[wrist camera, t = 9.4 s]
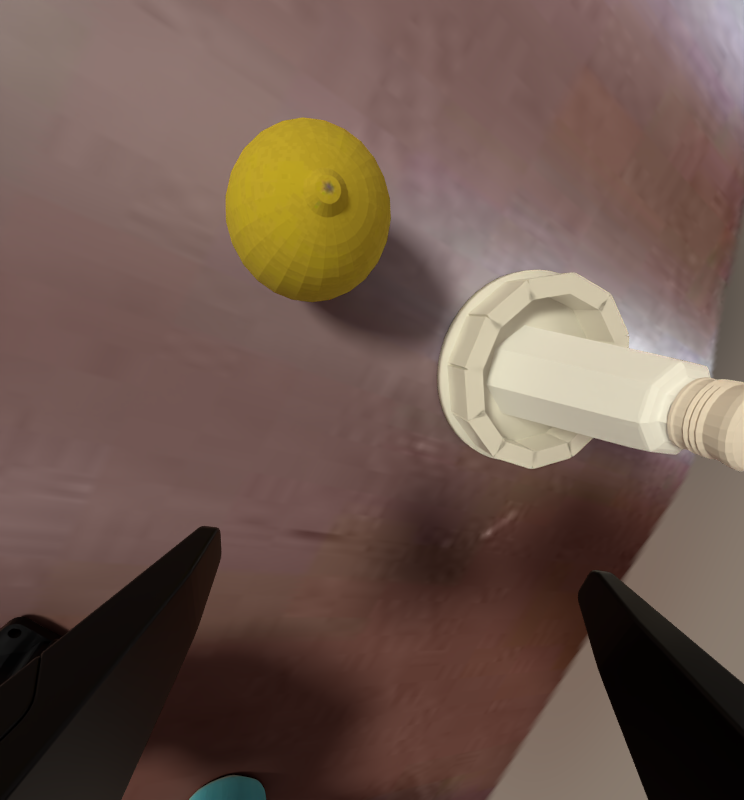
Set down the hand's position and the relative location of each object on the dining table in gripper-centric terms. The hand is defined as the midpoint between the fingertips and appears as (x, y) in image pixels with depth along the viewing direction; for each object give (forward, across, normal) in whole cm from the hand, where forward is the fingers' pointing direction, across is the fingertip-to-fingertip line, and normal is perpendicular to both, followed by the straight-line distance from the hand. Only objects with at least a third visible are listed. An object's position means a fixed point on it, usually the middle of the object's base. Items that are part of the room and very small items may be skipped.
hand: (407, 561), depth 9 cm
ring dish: (+14, -8, 0) cm, 16 cm away
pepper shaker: (+14, -8, 0) cm, 16 cm away
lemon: (+12, +5, -6) cm, 15 cm away
